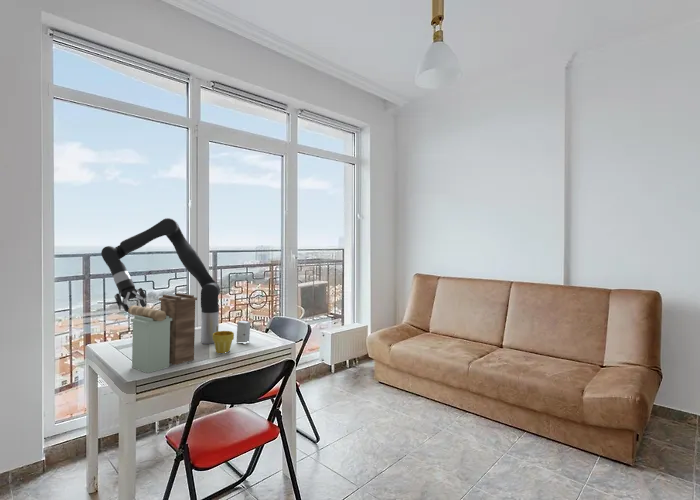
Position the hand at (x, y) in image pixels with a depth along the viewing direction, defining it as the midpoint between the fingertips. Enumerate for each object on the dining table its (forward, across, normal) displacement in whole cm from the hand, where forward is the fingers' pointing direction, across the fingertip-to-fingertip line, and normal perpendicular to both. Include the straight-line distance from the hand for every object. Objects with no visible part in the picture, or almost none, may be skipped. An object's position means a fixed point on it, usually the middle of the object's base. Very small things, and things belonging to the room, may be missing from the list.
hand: (136, 309), depth 198 cm
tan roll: (+11, -14, -27) cm, 33 cm away
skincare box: (+41, +35, -21) cm, 58 cm away
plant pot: (+40, +17, -25) cm, 50 cm away
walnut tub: (+34, -4, -19) cm, 39 cm away
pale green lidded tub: (+32, -17, -19) cm, 41 cm away
